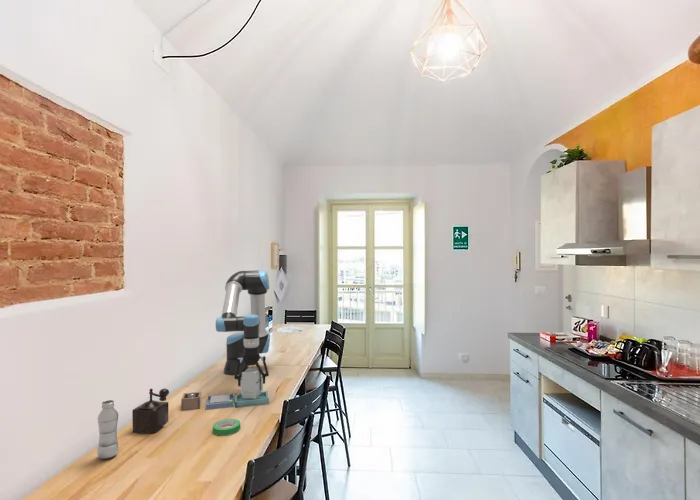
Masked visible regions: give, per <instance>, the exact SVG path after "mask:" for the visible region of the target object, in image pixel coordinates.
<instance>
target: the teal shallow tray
mask: <svg viewBox="0 0 700 500" xmlns="http://www.w3.org/2000/svg"><path fill="white" fill-rule="evenodd" d="M269 404H270V397H269V392H268V391H266V390H265V391H261V394H260V395H259V396H257V397H256V398H255V399H253V398H242V393H238V394H237V393H236V394H235V396H234V408H235V409H236V408H243V407H251V406H253V407H254V406H261V405H269Z"/></svg>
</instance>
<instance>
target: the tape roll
mask: <svg viewBox="0 0 700 500" xmlns="http://www.w3.org/2000/svg"><path fill="white" fill-rule="evenodd" d="M226 425H233V426H229V427H227V426H226ZM222 426H223V427H222ZM220 427H221V428H220ZM240 429H241V421H240V420H239V419H236V418H227V419H226V418H225V419H219V421H216V422H215V423H213V425H212V434H214V435H215V434H217V435H216V436H219V435H225V436H230V435H229V434H231V435H234V434H236V433H237V432H239V431H241V430H240ZM233 433H234V434H233Z"/></svg>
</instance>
